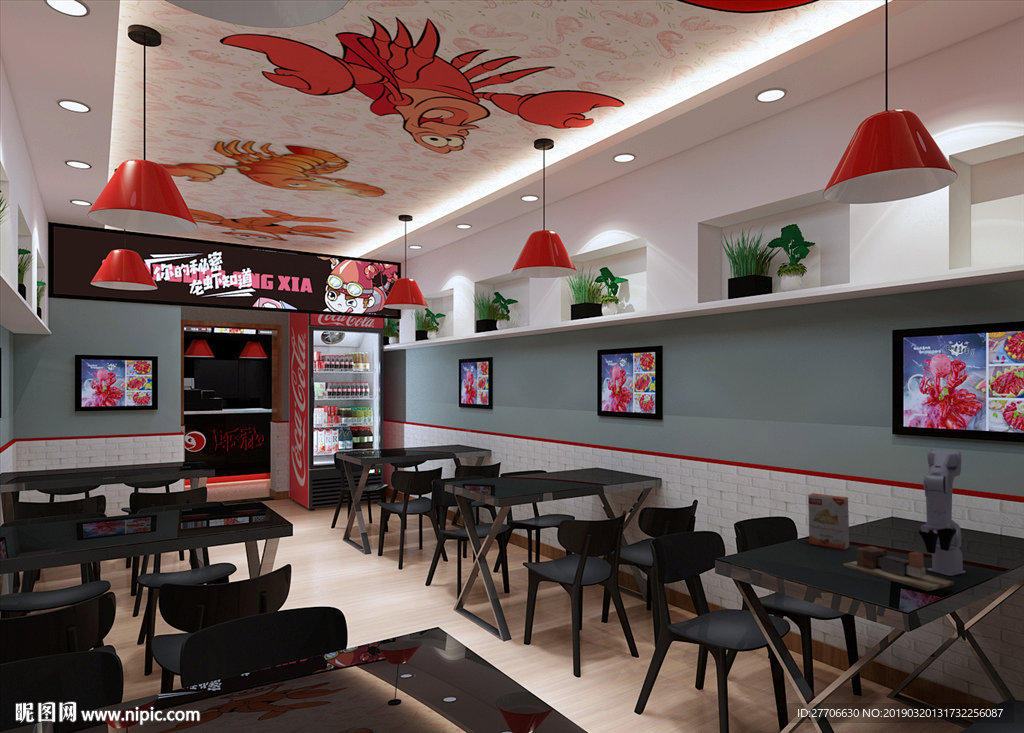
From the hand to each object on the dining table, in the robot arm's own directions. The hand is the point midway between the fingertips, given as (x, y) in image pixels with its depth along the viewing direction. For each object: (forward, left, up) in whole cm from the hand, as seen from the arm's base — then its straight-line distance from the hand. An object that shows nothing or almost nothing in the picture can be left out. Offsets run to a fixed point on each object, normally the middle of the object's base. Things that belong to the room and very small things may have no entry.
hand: (938, 551), depth 203 cm
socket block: (+5, -20, -10) cm, 23 cm away
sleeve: (+5, -11, -10) cm, 16 cm away
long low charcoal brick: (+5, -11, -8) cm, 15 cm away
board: (+5, -11, -10) cm, 16 cm away
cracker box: (-9, -48, -11) cm, 50 cm away
